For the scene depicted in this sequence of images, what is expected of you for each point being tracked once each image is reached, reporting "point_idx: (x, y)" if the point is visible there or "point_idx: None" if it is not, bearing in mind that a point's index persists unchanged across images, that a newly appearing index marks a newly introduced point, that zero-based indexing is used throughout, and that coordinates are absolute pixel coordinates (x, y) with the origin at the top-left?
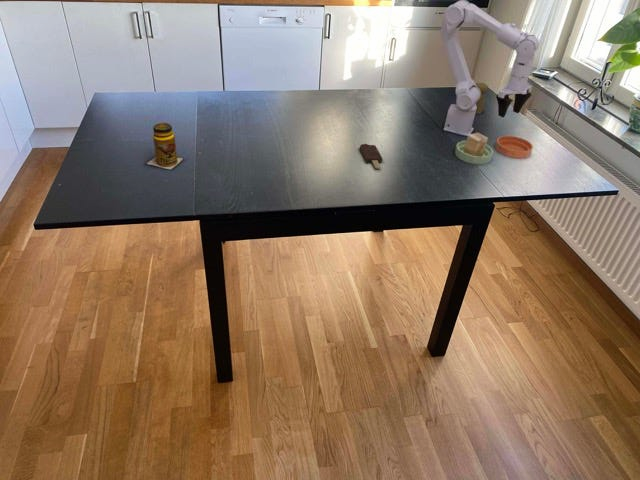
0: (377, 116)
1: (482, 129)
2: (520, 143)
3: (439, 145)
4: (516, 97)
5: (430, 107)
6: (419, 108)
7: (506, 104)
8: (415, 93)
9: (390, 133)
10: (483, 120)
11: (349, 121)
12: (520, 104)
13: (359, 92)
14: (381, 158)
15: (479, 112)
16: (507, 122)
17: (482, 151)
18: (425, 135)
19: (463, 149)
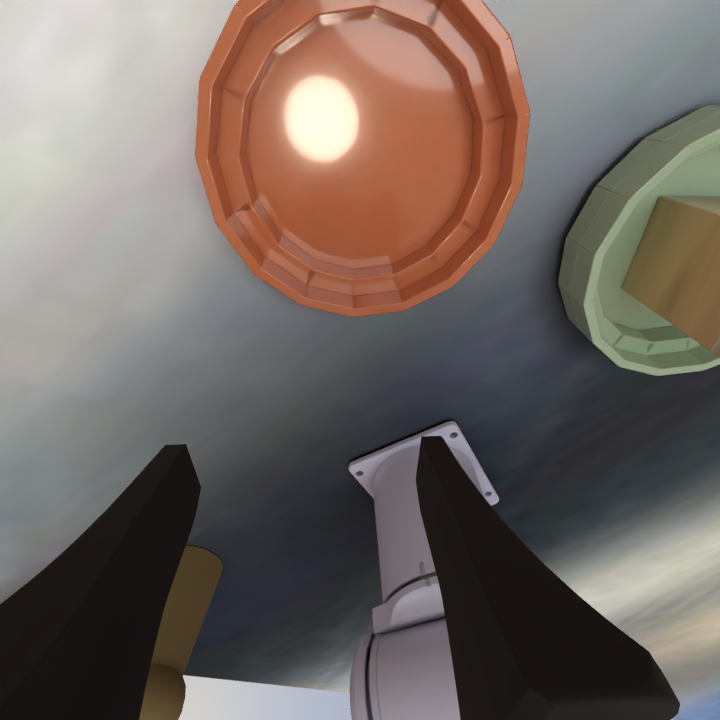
0: None
1: (299, 447)
2: (248, 187)
3: (665, 411)
4: (136, 674)
5: (356, 614)
6: None
7: (582, 602)
8: (319, 670)
9: (697, 537)
10: (214, 502)
11: (699, 612)
12: (136, 549)
13: None
14: None
15: (184, 551)
16: (83, 453)
17: (717, 207)
18: (608, 491)
19: (638, 328)
